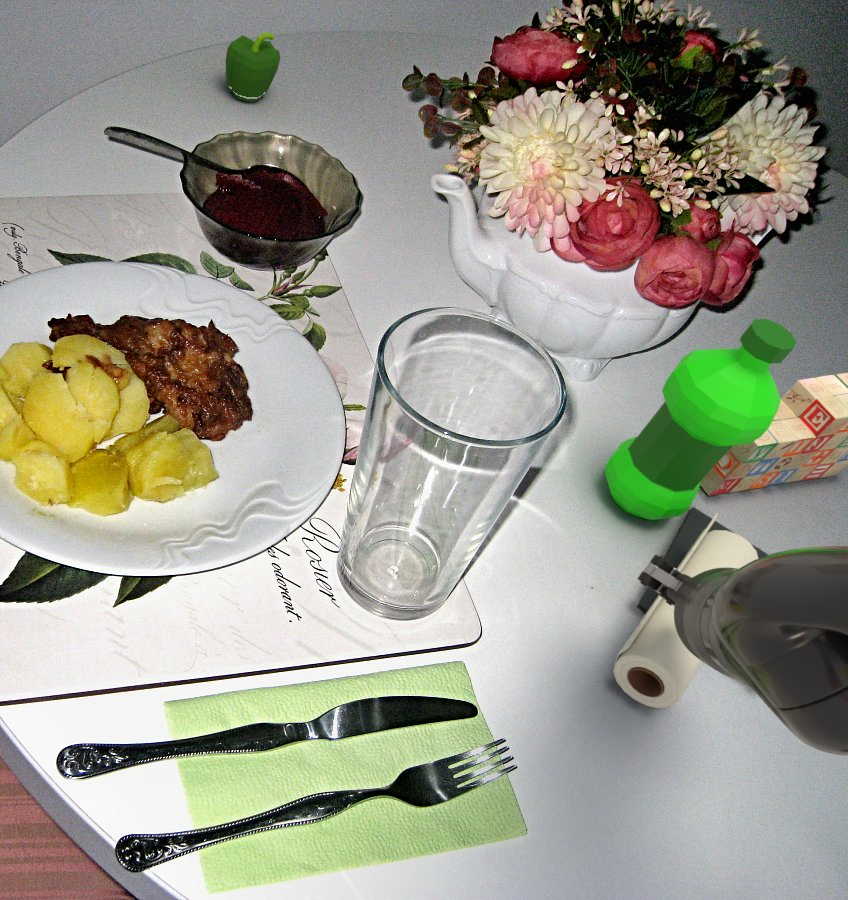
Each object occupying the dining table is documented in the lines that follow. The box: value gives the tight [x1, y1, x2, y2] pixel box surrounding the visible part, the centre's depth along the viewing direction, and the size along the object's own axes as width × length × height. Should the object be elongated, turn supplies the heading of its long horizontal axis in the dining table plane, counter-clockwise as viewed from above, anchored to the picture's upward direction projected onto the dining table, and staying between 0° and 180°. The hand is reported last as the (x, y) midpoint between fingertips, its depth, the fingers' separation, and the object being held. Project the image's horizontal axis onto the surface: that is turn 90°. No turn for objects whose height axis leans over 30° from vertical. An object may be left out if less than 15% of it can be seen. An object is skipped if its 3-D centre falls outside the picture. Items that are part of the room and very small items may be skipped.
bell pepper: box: [225, 32, 281, 103], centre depth 140 cm, size 8×8×10 cm
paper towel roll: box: [612, 512, 758, 709], centre depth 87 cm, size 7×6×21 cm
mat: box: [637, 506, 769, 614], centre depth 94 cm, size 13×18×1 cm
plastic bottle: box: [604, 318, 798, 521], centre depth 92 cm, size 10×10×25 cm
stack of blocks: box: [700, 372, 848, 497], centre depth 104 cm, size 21×6×12 cm, turn 108°
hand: (695, 606), depth 79 cm, fingers closed
